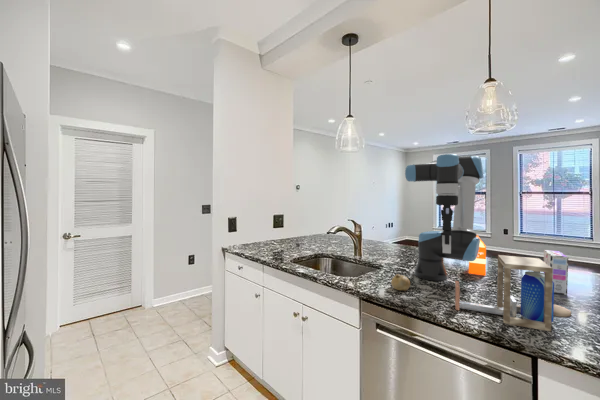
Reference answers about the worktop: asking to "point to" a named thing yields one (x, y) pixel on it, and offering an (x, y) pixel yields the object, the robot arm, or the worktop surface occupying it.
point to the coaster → (561, 311)
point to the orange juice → (479, 261)
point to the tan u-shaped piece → (483, 307)
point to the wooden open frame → (509, 264)
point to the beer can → (534, 296)
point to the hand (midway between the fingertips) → (446, 249)
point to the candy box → (558, 270)
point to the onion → (400, 282)
